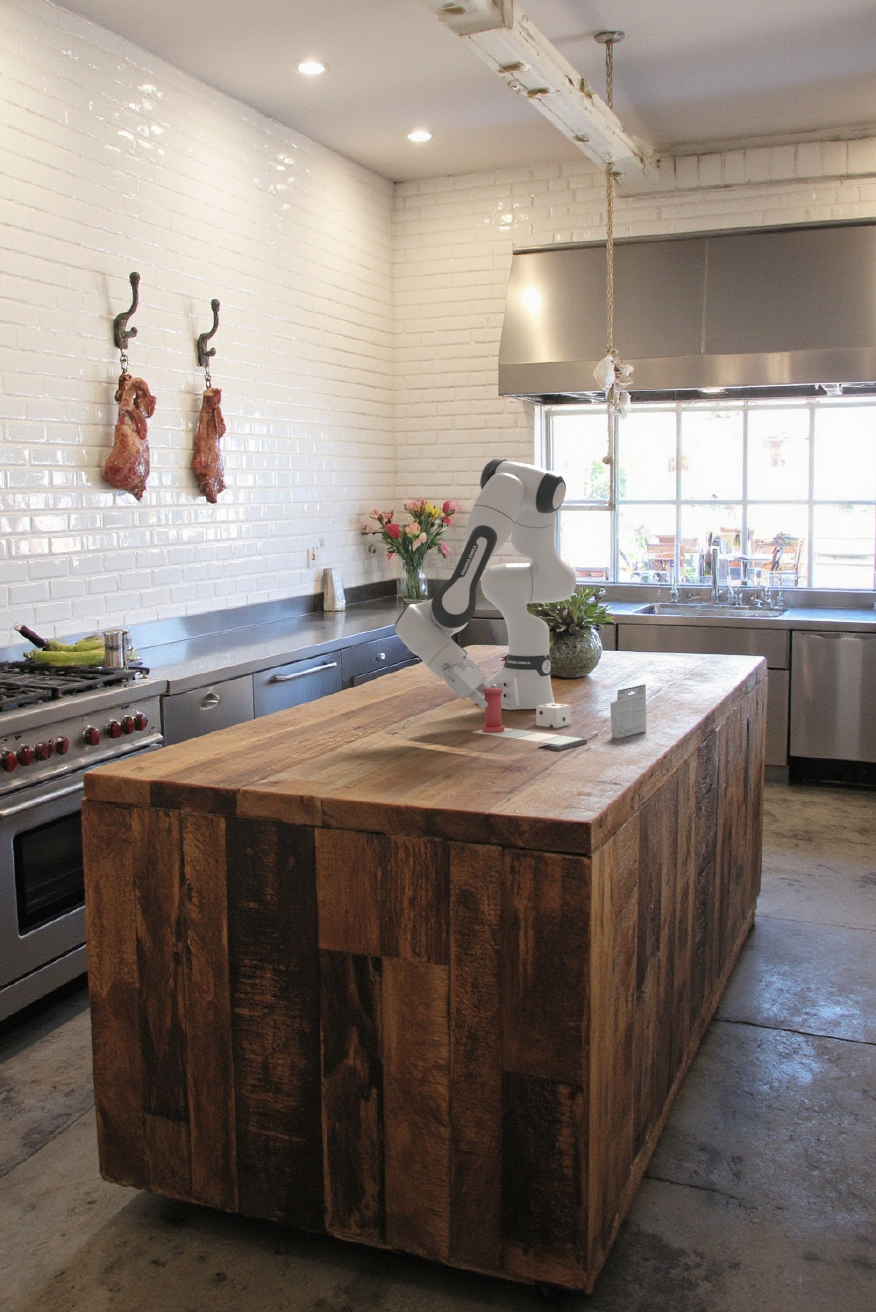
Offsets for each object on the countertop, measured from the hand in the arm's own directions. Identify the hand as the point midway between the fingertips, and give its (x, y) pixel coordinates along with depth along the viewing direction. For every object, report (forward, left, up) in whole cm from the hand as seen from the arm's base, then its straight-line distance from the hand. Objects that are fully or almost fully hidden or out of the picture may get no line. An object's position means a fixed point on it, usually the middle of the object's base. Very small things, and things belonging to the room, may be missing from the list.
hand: (489, 703), depth 274 cm
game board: (+10, 0, -8) cm, 13 cm away
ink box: (+25, +20, -8) cm, 34 cm away
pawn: (+1, 0, -7) cm, 7 cm away
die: (+7, +15, -8) cm, 19 cm away
